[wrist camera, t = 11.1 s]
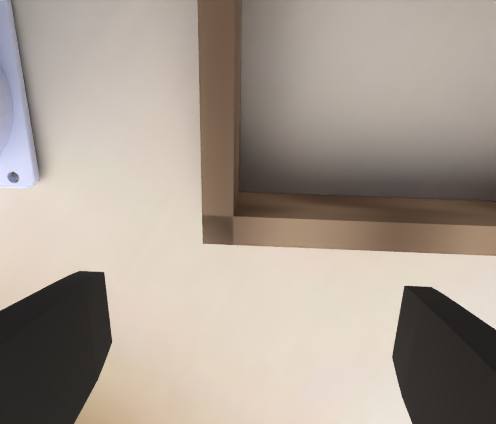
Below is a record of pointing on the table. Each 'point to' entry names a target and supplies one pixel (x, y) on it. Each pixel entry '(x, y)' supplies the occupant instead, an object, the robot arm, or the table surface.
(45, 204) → the table surface
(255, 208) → the frame
